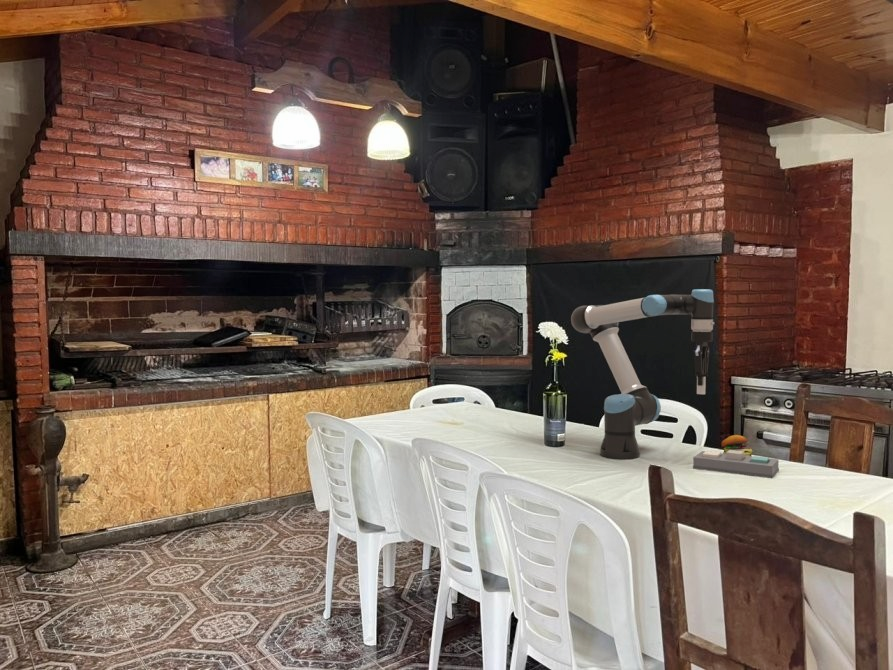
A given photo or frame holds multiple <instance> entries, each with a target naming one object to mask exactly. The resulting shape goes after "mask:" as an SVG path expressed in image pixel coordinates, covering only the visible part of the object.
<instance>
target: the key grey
mask: <svg viewBox="0 0 893 670" xmlns="http://www.w3.org/2000/svg"><path fill="white" fill-rule="evenodd" d="M726 459H729V460H738V461H743V460H744V451H736V450H729V451H727V452H726Z"/></svg>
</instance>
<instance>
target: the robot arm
mask: <svg viewBox="0 0 893 670" xmlns="http://www.w3.org/2000/svg"><path fill="white" fill-rule="evenodd" d="M714 302H715V300H714V291H713V289H709V288H708V289H704V288H701V289H699V288H697V289H692V291H691V294H650V295H647V296H646V297H641V298H635V299H630V300H625V301H620V302H613V303H609V304H605V305H604V304H598V305H592V304H591V305H581V306H578V307H576V308H575V309H574V310H573V311H572V314H571V316H570V321H571V323H570V324H571V325H572V327H573V328H574V330H575V331H577V332H578V333H582V334H590V335H591V338H592V340H593V341H594V342H595V343H596V342H597V343H598V344H599V346H600V350H601V352H602V353H603V356H604V358H605V360H606V362H607V364H608V367H609V369H610V371H611V373H612V375H613V378H614V379H615V382H616V384H617V386H618V388H619V391H620V392H621V393H619V394H612V395H609V396H607V397H606V398H605V399H604V403H603V404H604V405H603V410H604V411H603V413H604V414H603V415H604V417H603V418H604V419H603V420H604V437H603V439H602V443H601V446H600V447H599V450H600V451H599V452H600V453H599V454H600V455H601V456H602V457H605V458H608V459H616V460H618V459H619V460H627V459H629V460H630V459H636V458H640V455H641V450H640V447H639V446H640V445H639V443H638V440H637V438H636V437H637V436H636V426H642V425H648V424H650V423H652V422H654V421H656V420H657V419H658V418H659V417H660V414H661V402H660V400H659V398H658V397H657V396H656V395H654V394H652V393H650V391H649V389H648V387H647V386H645V385H642V384H641V382H640V379H639V378H638V375H637V373H636V370H635V368H634V367H633V364H632V362H631V361H630V359H629V356H628V354H627V352H626V350H625V347H624V346H623V343H622V341H621V339H620V337H619V335H618V333H619V331H620V328H619V324H620V322H626V321H627V322H628V321H634V320H639V319H643V318H644V319H645V318H650V317H656V316H657V317H658V316H668V315H669V316H672V315H673V316H674V315H689V316H690V315H691V323H690V325H691V326H690V329H691V330H692V331H691V333H690V335H691V336H690V337H691V338H690V340H691V342H695V343H696V344H695V347H694V350H693V351H692V352H693V353H692V354H693V360H694V377H696V395H706V386H707V385H706V380H707V379H706V377H709V374H708V373H709V371H708V370H709V361H710V359H709V358H710V351H711V349H710V347H709V346H708V345H709V344H708V343H711V342H713V340H714V337H713V336H714V333H713V330H714V326H715V321H714Z"/></svg>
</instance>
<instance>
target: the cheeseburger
mask: <svg viewBox="0 0 893 670" xmlns="http://www.w3.org/2000/svg"><path fill="white" fill-rule="evenodd" d="M721 447H722V448H723V452H722V453H724V454H726V452H727V451H729V450H736V451H744V456H752V454H753V449H752V448H751V447H749V446H748V439H747V438H746V437H745V436H743V435H740V434H734V435H733V434H732V435H730V436H727V438H725V439H723V440H722V441H721ZM752 457H753V456H752Z"/></svg>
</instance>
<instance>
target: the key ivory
mask: <svg viewBox="0 0 893 670" xmlns="http://www.w3.org/2000/svg"><path fill="white" fill-rule="evenodd" d="M721 453H722V452H719V451H709V450H708V451H705V452H704V453H703V457H711V458H719V457H720V456H721Z"/></svg>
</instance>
